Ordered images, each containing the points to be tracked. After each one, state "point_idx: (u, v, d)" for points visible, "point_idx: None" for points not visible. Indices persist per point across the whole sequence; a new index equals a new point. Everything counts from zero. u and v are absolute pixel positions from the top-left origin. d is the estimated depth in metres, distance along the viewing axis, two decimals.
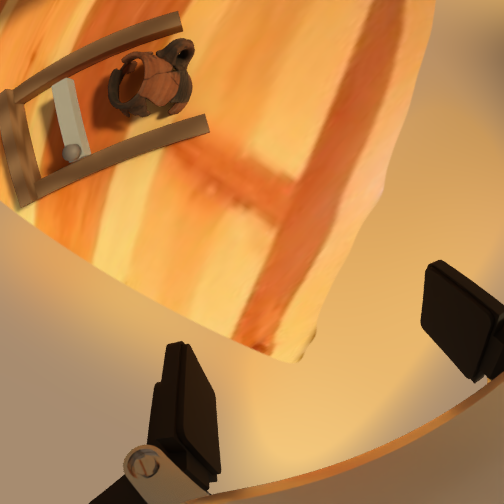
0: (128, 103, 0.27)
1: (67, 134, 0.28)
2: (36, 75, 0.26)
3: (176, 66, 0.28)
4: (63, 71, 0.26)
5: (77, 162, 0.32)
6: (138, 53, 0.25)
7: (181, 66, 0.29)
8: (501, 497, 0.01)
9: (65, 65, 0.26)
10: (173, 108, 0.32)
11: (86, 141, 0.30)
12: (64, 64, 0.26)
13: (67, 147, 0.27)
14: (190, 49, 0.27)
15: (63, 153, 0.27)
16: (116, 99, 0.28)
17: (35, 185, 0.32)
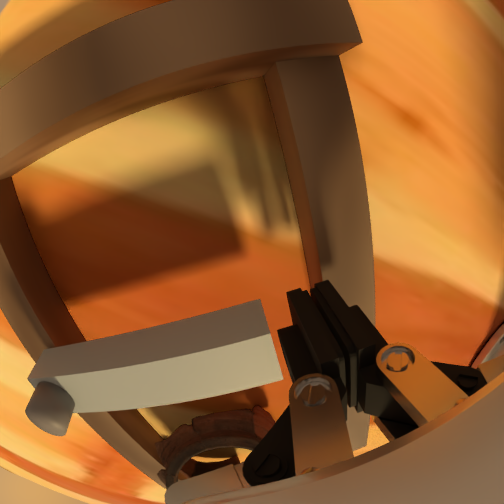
0: None
1: (91, 387, 0.09)
2: (358, 178, 0.10)
3: None
4: None
5: (50, 343, 0.11)
6: None
7: None
8: (502, 497, 0.01)
9: (346, 297, 0.12)
10: (180, 471, 0.17)
11: None
12: (351, 293, 0.12)
13: (55, 422, 0.08)
14: None
15: (36, 410, 0.08)
16: None
17: None
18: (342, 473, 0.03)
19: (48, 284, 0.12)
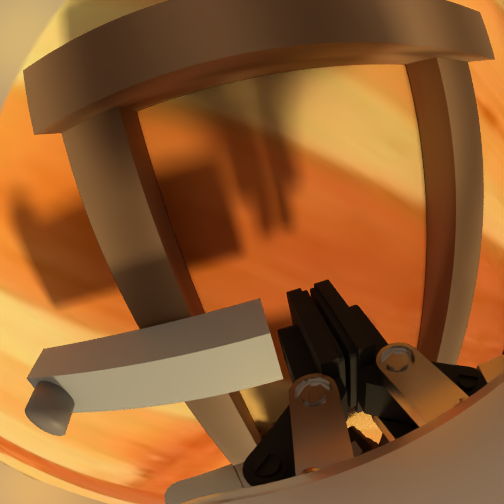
0: None
1: (91, 387, 0.09)
2: (479, 154, 0.10)
3: None
4: (457, 246, 0.12)
5: (184, 312, 0.11)
6: None
7: None
8: (501, 497, 0.01)
9: (465, 250, 0.12)
10: None
11: None
12: (468, 246, 0.12)
13: (54, 422, 0.08)
14: None
15: (35, 409, 0.08)
16: None
17: (109, 116, 0.08)
18: (342, 473, 0.03)
19: (175, 242, 0.12)
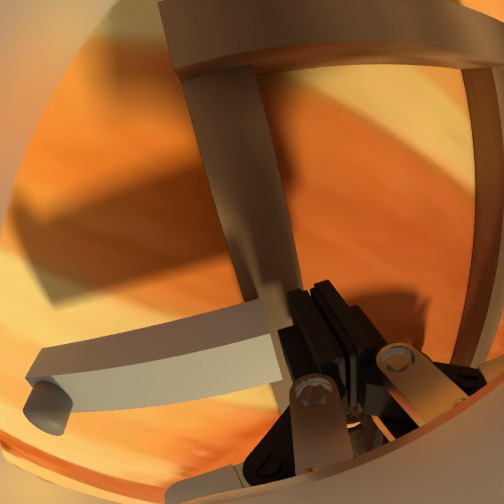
0: None
1: (89, 387, 0.09)
2: None
3: None
4: (503, 226, 0.12)
5: (296, 281, 0.11)
6: None
7: None
8: (501, 497, 0.01)
9: None
10: None
11: None
12: None
13: (53, 422, 0.08)
14: None
15: (34, 409, 0.08)
16: None
17: (241, 73, 0.08)
18: (342, 473, 0.03)
19: None
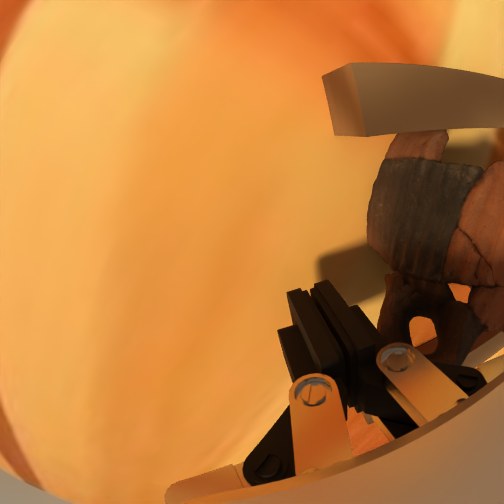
0: None
1: None
2: None
3: (447, 296, 0.08)
4: None
5: None
6: None
7: (423, 289, 0.09)
8: (501, 497, 0.01)
9: None
10: (441, 143, 0.08)
11: None
12: None
13: None
14: None
15: None
16: None
17: None
18: (342, 473, 0.03)
19: None
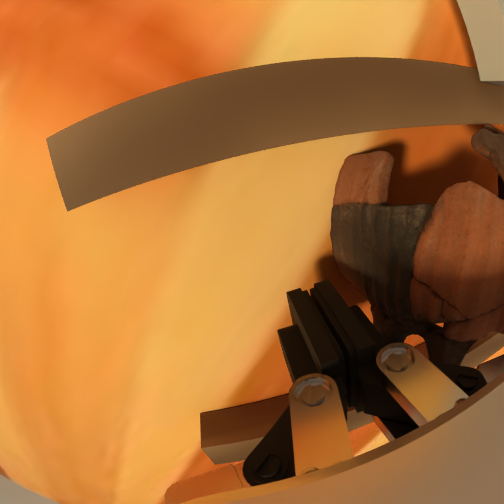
0: None
1: None
2: (502, 345, 0.14)
3: (424, 328, 0.09)
4: (471, 353, 0.13)
5: None
6: None
7: (401, 323, 0.10)
8: (501, 498, 0.01)
9: (463, 364, 0.14)
10: (384, 175, 0.09)
11: None
12: (463, 365, 0.14)
13: None
14: None
15: None
16: None
17: None
18: (342, 473, 0.03)
19: None
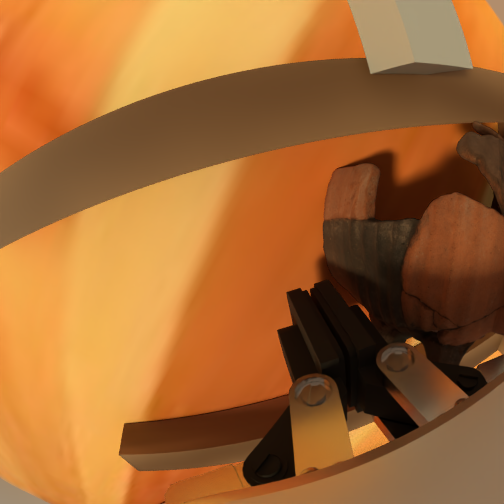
0: None
1: None
2: None
3: (419, 335, 0.09)
4: None
5: (432, 119, 0.08)
6: None
7: (398, 330, 0.10)
8: (501, 497, 0.01)
9: None
10: (371, 189, 0.09)
11: None
12: None
13: None
14: None
15: None
16: None
17: None
18: (342, 473, 0.03)
19: None
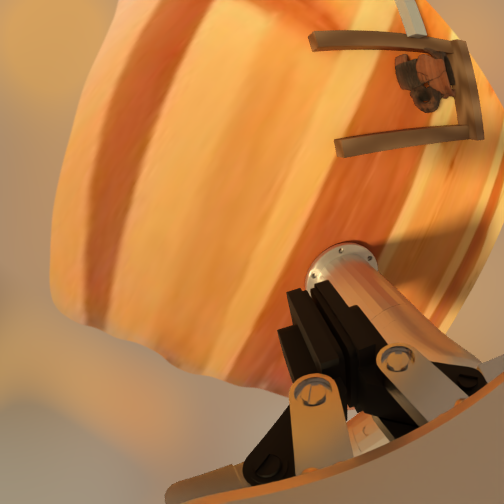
0: (443, 54, 0.27)
1: None
2: (452, 139, 0.36)
3: (424, 87, 0.31)
4: (433, 129, 0.35)
5: (420, 47, 0.30)
6: (453, 93, 0.30)
7: (419, 89, 0.32)
8: (501, 497, 0.01)
9: (432, 134, 0.35)
10: (406, 57, 0.31)
11: None
12: (432, 135, 0.35)
13: None
14: (423, 103, 0.31)
15: None
16: (446, 60, 0.29)
17: (452, 51, 0.30)
18: (342, 473, 0.03)
19: (422, 51, 0.32)
